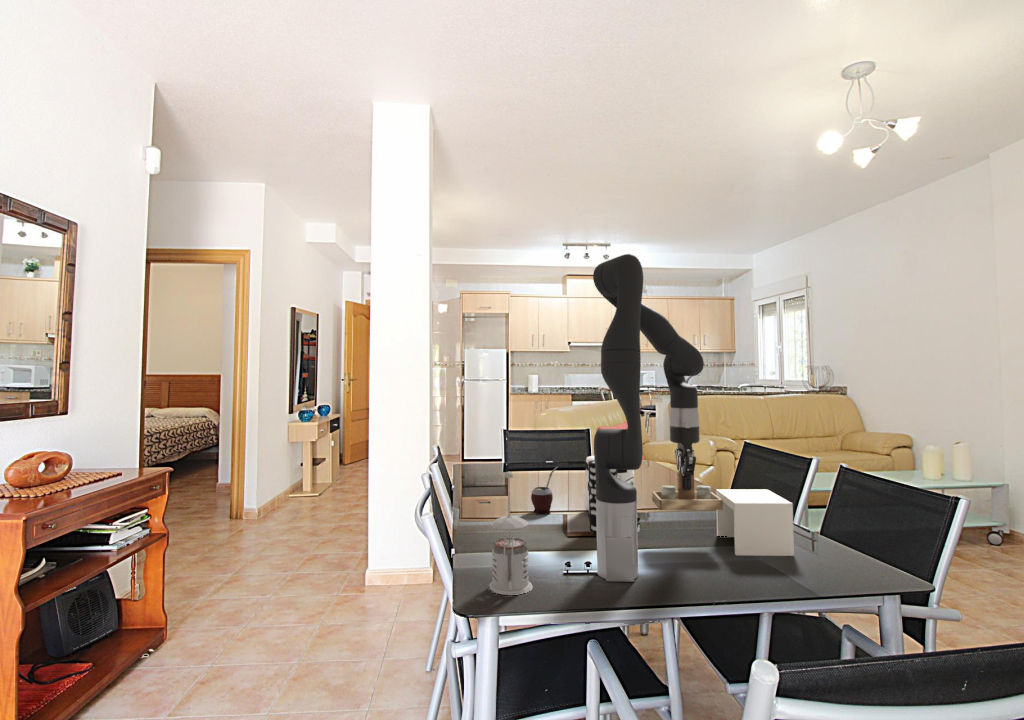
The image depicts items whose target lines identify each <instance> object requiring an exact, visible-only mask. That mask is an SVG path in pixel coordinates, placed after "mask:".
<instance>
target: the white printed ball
mask: <svg viewBox="0 0 1024 720" xmlns="http://www.w3.org/2000/svg"><path fill="white" fill-rule="evenodd" d="M592 460H595V459H594V455H590V456H586V459H585V481H586V482H585V488H584V492H583V504H584V507H585V509H586V511H587V512H589V474H588V462H589V461H592ZM617 478H618V479H620V480H622V481H624V482H626V483H629V484H631V485H633V486H634V487H635V488H636V486H635V470H625V469H624V470H618V469H617Z"/></svg>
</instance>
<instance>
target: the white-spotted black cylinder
mask: <svg viewBox="0 0 1024 720" xmlns="http://www.w3.org/2000/svg"><path fill="white" fill-rule="evenodd" d="M610 472H611V473H612V474H613V475H614V476H615V477H616V478H617V469H610ZM588 474H589V511H588V520H589V521H588V524H589V527H588V528H589V530H590V531H591V532H593V533H597V523H596V473H595V460H592V461H589V462H588ZM590 531H589V532H590ZM591 532H590V533H591ZM593 533H592V534H593Z"/></svg>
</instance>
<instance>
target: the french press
mask: <svg viewBox="0 0 1024 720" xmlns="http://www.w3.org/2000/svg"><path fill="white" fill-rule="evenodd" d="M504 478H505V479H508V515H504V516H500V517H498V518H496V519H495V520H493V521H492V522H491V523H490V525H491V527H492V529H494V530H498V531H501V532H502V531H503V532H504V531H505V532H509V535H508V536H507V537H506V535H504V537H500V538H498V539H495V540H494V541H493V545H494V546H493V547H492V549H491V556H492V557H491V561H492V564H491V568H492V570H491V572H492V575H491V576H492V577H491V580H492V581H491V582H490V584H489V585H488V586H490V589H491V590H493V591H494V592H496V593H499V594H505V595H506V594H508V595H519V594H523V593H526V594H528V593H529V591H530V592H531V591H533V588H534V586H533V584H532V583H531V582H530V581H529V575H528V574H529V569H528V568H529V563H528V562H529V557H527V556H529V549H528V547H527V546H526V544H527V541H526V540H525V539H524V538H520V537H516V536H514V535H511V532H512V531H513V532H515V531H519V530H522V529H525V528H526V527H527V526H528V525H529V522H528V521H527V520H525V519H523V518H521V517H519V516H516V515H511V499H510V498H511V494H510V493H511V491H510V490H511V486H510V485H511V484H510V483H511V482H510V481H511V480H510V479H512V478H514V474H513V472H512V471H506V472H505V473H504ZM511 536H512V537H511ZM527 592H528V593H527ZM523 595H524V594H523ZM519 596H520V595H519Z"/></svg>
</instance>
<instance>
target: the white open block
mask: <svg viewBox="0 0 1024 720" xmlns="http://www.w3.org/2000/svg"><path fill="white" fill-rule="evenodd" d="M715 495H717V496H718V497H719V498H721V499H722V500H723V510H715V511H716V537H717V536H720V537H719V538H722V537H721V536H724V537H723V538H734V555H735V556H752V557H753V556H755V557H757V556H758V557H759V556H763V557H764V556H765V557H767V556H770V557H771V556H772V557H776V556H777V557H789V556H790V557H794V556H795V550H794V549H795V547H794V546H795V545H794V543H795V541H794V539H795V538H794V507H793V505H794V504H793V502H792V501H791V502H790V501H789V500H787V499H786V498H784V497H782V496H780V495H778V494H776V493H775V492H773V491H771V490H769V489H768V488H767V489H764V488H763V489H761V488H760V489H758V488H757V489H755V488H754V489H752V488H751V489H750V488H749V489H745V488H743V489H742V488H741V489H731V488H729V489H728V488H727V489H726V488H725V489H724V488H723V489H718V488H717V489H715ZM725 536H727V537H725Z"/></svg>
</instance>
